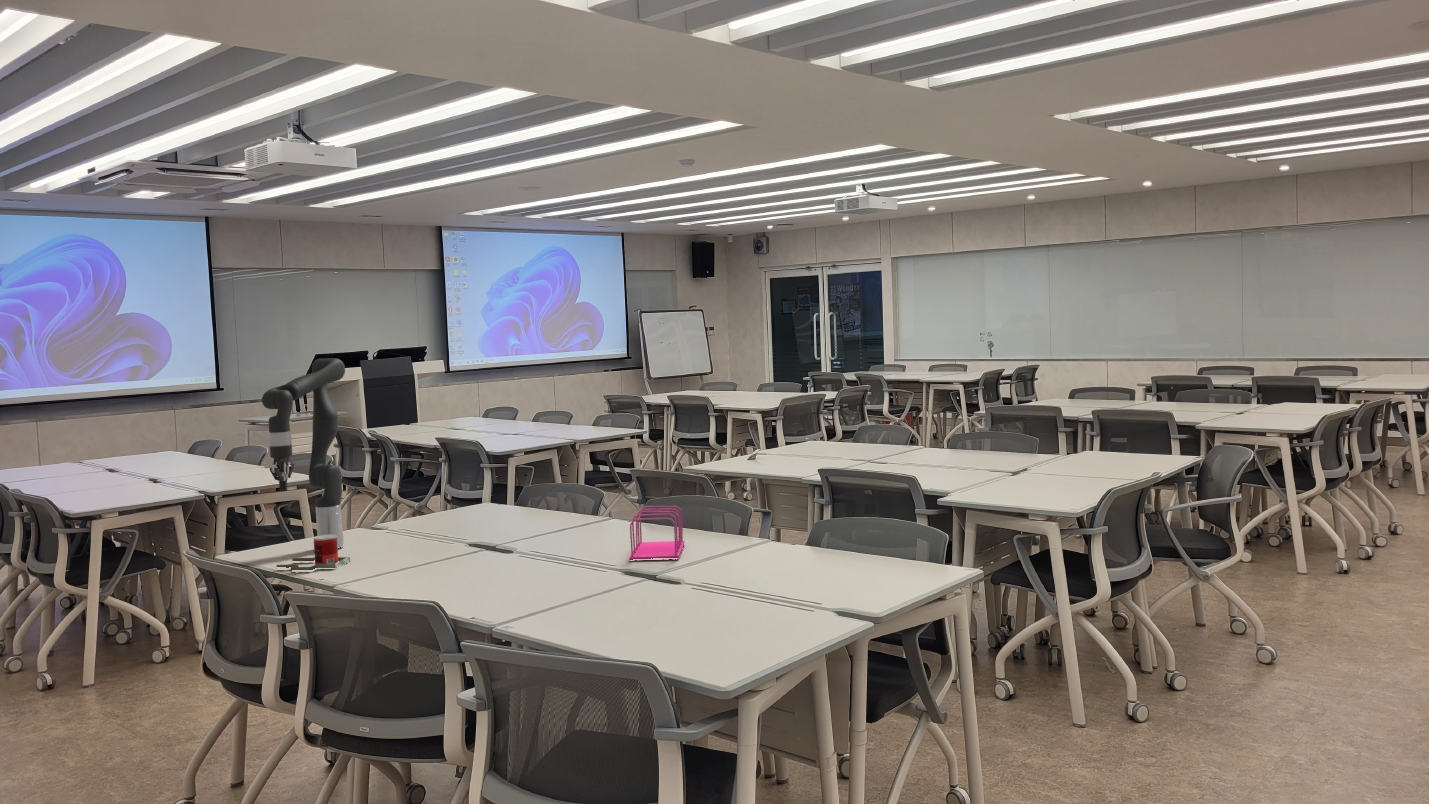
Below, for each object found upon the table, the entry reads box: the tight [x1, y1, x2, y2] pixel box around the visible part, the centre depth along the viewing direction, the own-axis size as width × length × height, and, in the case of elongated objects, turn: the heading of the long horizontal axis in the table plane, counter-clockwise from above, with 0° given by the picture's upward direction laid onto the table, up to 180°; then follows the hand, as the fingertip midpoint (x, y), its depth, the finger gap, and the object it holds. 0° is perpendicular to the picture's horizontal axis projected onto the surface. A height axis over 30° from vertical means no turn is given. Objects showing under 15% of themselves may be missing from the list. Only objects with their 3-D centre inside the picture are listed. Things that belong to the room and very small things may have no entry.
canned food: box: [313, 534, 339, 565], centre depth 351 cm, size 8×8×11 cm
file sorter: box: [628, 505, 686, 560], centre depth 351 cm, size 17×25×16 cm
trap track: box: [276, 556, 351, 571], centre depth 352 cm, size 19×22×2 cm
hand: (283, 490), depth 358 cm, fingers closed
